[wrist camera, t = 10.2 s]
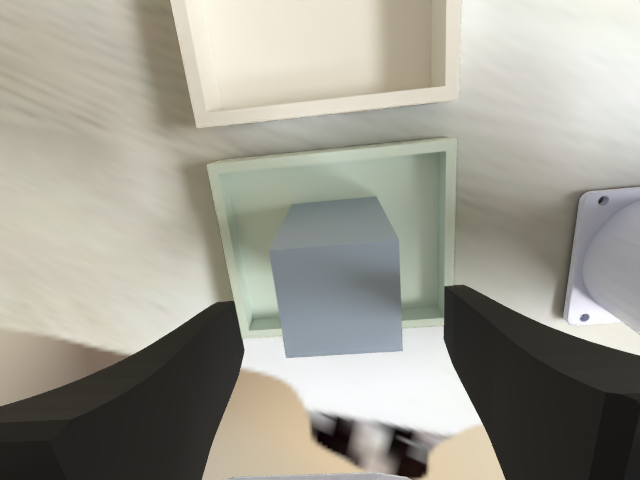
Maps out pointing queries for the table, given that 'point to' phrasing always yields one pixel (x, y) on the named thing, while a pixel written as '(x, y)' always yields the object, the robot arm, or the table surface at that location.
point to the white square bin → (315, 56)
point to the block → (338, 279)
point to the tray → (336, 184)
